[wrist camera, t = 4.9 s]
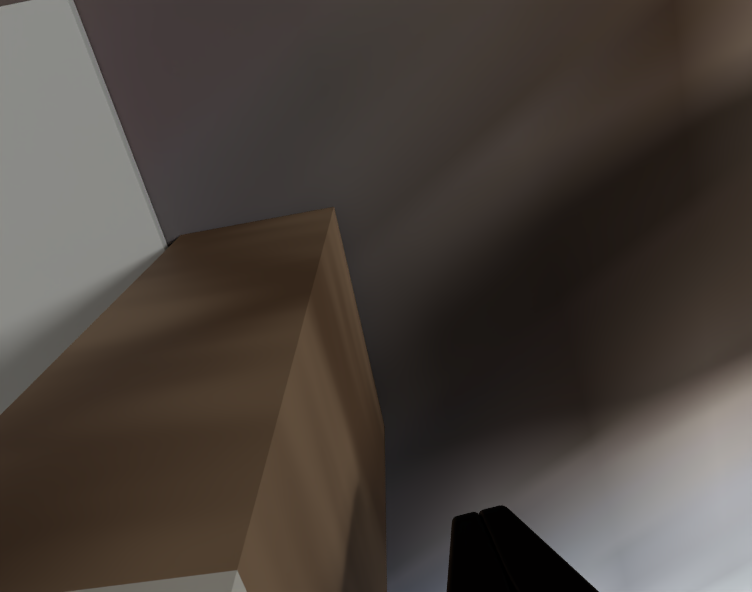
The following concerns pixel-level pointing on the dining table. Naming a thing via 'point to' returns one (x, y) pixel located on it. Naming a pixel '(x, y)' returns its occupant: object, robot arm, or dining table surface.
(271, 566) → the walnut block
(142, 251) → the mat
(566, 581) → the robot arm
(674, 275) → the dining table surface
